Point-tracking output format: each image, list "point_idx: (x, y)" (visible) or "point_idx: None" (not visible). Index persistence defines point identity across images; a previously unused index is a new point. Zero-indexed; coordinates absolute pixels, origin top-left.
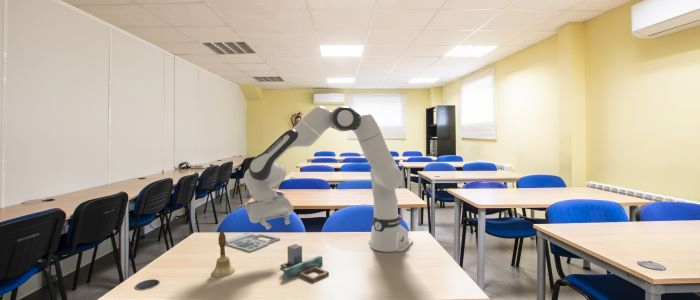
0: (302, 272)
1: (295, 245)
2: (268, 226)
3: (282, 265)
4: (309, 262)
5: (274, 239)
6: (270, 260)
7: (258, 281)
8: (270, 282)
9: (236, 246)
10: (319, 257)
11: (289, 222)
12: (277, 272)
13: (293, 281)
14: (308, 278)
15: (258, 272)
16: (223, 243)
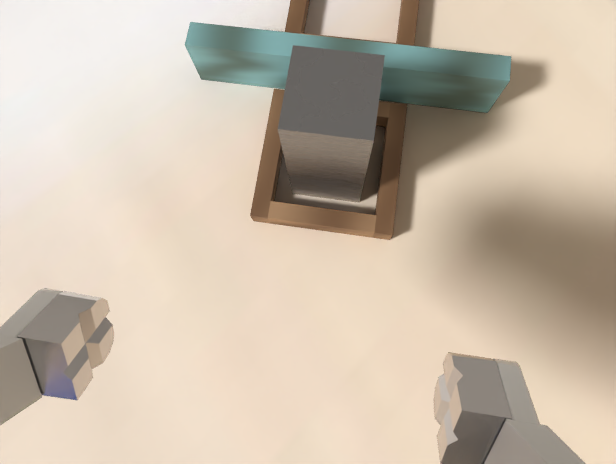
0: (393, 43)
1: (308, 102)
2: (510, 369)
3: (392, 215)
4: (308, 39)
5: None
6: (336, 405)
7: (611, 205)
8: (569, 138)
9: None
10: (217, 25)
11: (61, 291)
12: (450, 204)
13: (475, 47)
14: None
15: (531, 310)
16: None
